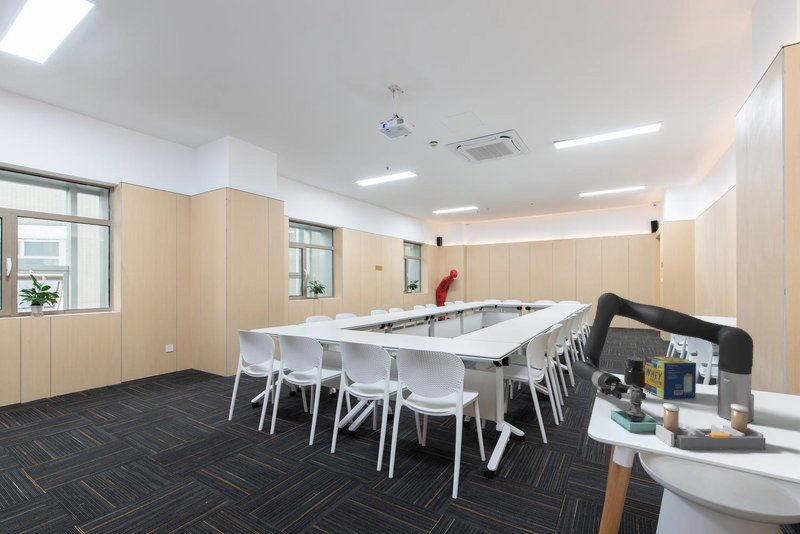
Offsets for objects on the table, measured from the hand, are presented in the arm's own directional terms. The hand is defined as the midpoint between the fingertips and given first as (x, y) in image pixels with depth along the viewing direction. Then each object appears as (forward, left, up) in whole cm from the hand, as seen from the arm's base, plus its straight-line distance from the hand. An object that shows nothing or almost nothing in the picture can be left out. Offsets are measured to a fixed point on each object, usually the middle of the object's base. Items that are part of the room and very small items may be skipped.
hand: (632, 396), depth 130 cm
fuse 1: (-4, +12, -9) cm, 16 cm away
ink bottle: (-29, -44, -10) cm, 54 cm away
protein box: (-35, -30, -10) cm, 47 cm away
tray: (0, +2, -9) cm, 10 cm away
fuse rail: (-15, +12, -9) cm, 22 cm away
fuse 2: (-26, +12, -9) cm, 31 cm away
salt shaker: (0, +2, -9) cm, 9 cm away
